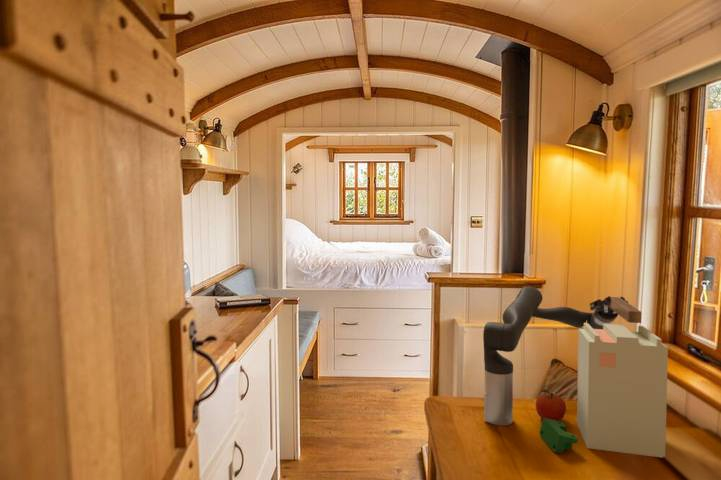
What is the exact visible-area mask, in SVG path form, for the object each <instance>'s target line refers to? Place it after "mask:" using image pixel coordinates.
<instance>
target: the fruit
mask: <svg viewBox="0 0 721 480" xmlns="http://www.w3.org/2000/svg"><path fill="white" fill-rule="evenodd" d="M539 393H542V394H540V395H539V396H538V397H537V398H536V401H535V409H536V412H537V414H538V416H539V417H540V419H542V420H543V418H546V419H551V420H555V421H559V422H561V420H562V419H564V417H565V415H566V412H567V405H566V401H565V400H564V399H563V398H562V396H560V395H556V394H554V393H553V392H550V390H548V389H542V390H540V391H539Z"/></svg>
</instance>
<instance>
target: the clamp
mask: <svg viewBox="0 0 721 480" xmlns="http://www.w3.org/2000/svg"><path fill="white" fill-rule="evenodd" d="M567 429H568V427H567V425H565V424H564V423H563V422H562V421H555V420H551V419H546V418H543V419H542V423H541V426H540V430H539V436H540V437H541V439H542V440H543V441H544V443H545V444H547V446H548V447H549V448H550V450H552V452H554V453H558V454H563V452H564V450H565V449H566V450H570V451H571V450H572V449H573V444H575V445H576V444H578V441H579V437H578V436H576V434H574V433H571V432H567Z"/></svg>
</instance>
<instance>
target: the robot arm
mask: <svg viewBox="0 0 721 480" xmlns="http://www.w3.org/2000/svg"><path fill="white" fill-rule="evenodd" d="M611 297H612V296H609V295H608V296H607V297H604V299H596V300H595V301H592V302H590V303H589V307H590V308H589V309H590V311H593V312H588V311H587V312H586V311H581V310H577V309H575V308H572V307H568V306H558V307H551V308H549V307H548V308H541V307H540V305H541V304H542V301H543V294H542V292H541V291H540V290H539V289H537V288H536V287H534V286H531V285H530V286H529V285H527V286H523V287H521V289H520V290H519V292H518V294H517V295H516V297H515V299H514V300H513V301H512V302H511V303H510V304H508V306H507V307H506V309H505V310H504V311H503V314H502V322H497V321H496V322H495V321H494V322H493V321H487V322H486V323H485V325H484V328H483V335H482V337H483V339H482V340H483V363H484V394H483V395H484V404H483V405H484V408H483V410H484V411H483V414H484V415H483V416H484V417H483V418H484V419H483V420H484V422H485V423H489V424H491V425H495V426H510V425H512V424H513V422H514V364H513V362H512V360H509V359H508V358H506V357H505V356H503V355H501V354H500V353H499V352H504V353H505V352H506V353H510V352H511V353H512V352H514V351H515V350H516V348H517V346H518V344H519V341H520V339H521V336H522V334H523V332H524V331H525V329H526V327H527V326H528V324H529V323H530V321H531V319H532V318H537V319H541V320H542V319H543V320H548V321H554V322H559V323H563V324H565V325H569V326H571V327H574V328H577V329H583V328H584V323H588V324H589V325H590V326H591V327H592V328H593V329H603V324H612V323H613V322H614V321H615V320H616V318H617V317H619V315H618V314H617V313H616V312H615V311H613V310H612V309H611V308H609V307H608V305H609V304H610V303H611ZM619 298H621V299H623V300H624V301H626V302H627V303H629V302H628V300H626V297H624V296H620V297H619Z"/></svg>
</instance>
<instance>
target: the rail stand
mask: <svg viewBox="0 0 721 480" xmlns="http://www.w3.org/2000/svg"><path fill="white" fill-rule="evenodd" d="M637 329H638V330H637V331H630V330H629V329H628V328H627V327H626V326H625V325H623V324H614V323H613V324H612V323H610V324H603V329H593V328H592V327H591V326H590V325H589V324H588V323H587V322H586V323H584V326H583V328H577V331H578V333H577V334H578V338H577V339H578V340H577V347H578V348H577V393H576V394H577V398H576V399H577V402H576V403H577V404H576V405H577V406H576V410H577V411H576V414H577V415H576V425H577V427H578V429H579V431H580V434H581V436H582V438H583V441H584V444H585V447H586V449H590V450H591V449H593V450H599V451H607V452H615V453H624V454H631V455H638V456H647V457H656V458H663V456H665V457H666V445H667V444H666V439H667V437H666V436H667V429H666V428H667V401H668V396H667V395H668V357H669V354H668V353H669V347H668V345H666V344H665V343H663V342H662V340H663V339H662V338H661V337H659V336H657V335H656V334H654V333H653V332H651V331H650V330H649V329H647V327H645V326H643V325H638V328H637ZM663 459H664V458H663Z"/></svg>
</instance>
